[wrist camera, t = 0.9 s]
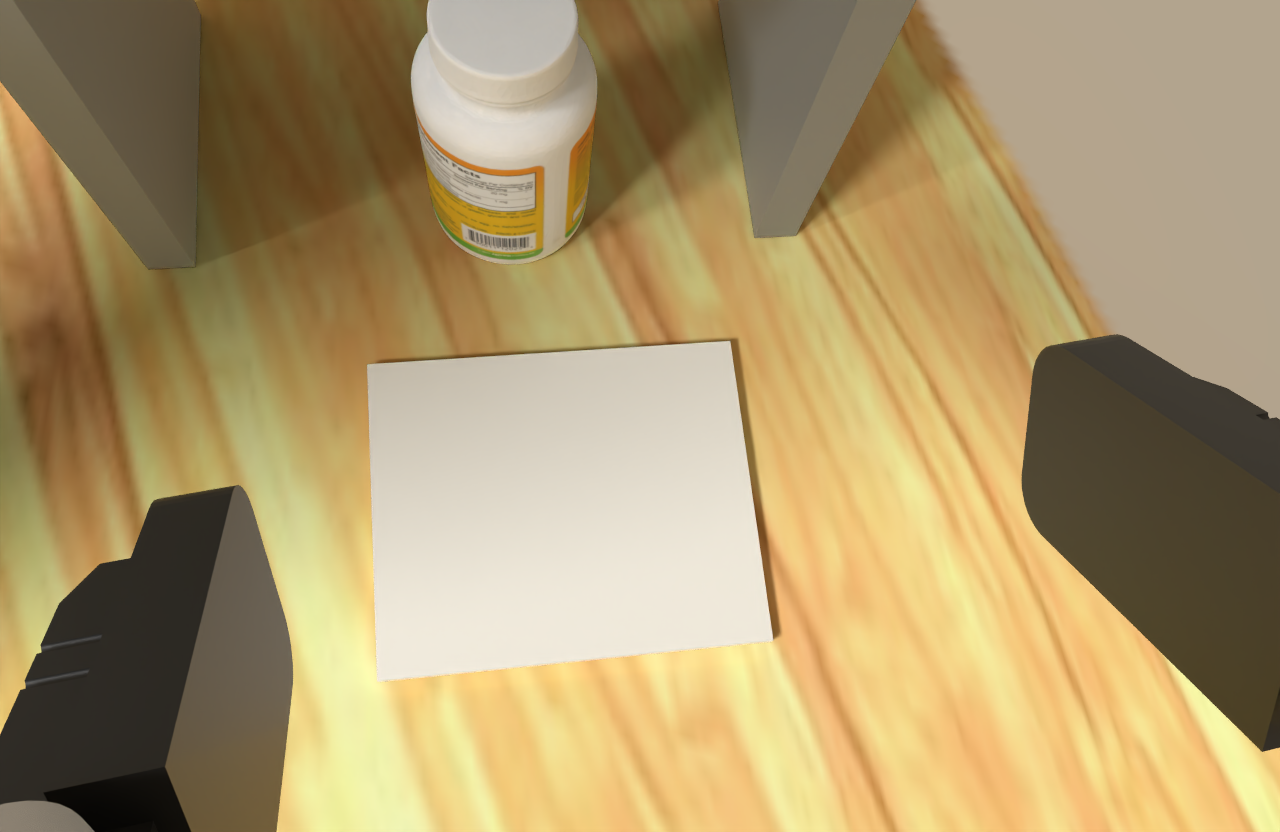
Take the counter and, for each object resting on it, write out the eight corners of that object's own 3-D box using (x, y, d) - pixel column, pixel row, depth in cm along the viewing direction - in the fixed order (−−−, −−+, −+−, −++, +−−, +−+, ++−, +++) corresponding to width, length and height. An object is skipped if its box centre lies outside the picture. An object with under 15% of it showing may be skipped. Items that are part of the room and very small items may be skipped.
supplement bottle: (530, 107, 38) (531, -101, 29) (616, 220, 37) (645, 41, 27) (401, 178, 36) (358, -18, 27) (487, 296, 35) (471, 135, 26)
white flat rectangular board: (378, 681, 31) (377, 680, 31) (368, 368, 34) (367, 364, 34) (770, 641, 33) (773, 640, 32) (728, 345, 36) (730, 340, 35)
